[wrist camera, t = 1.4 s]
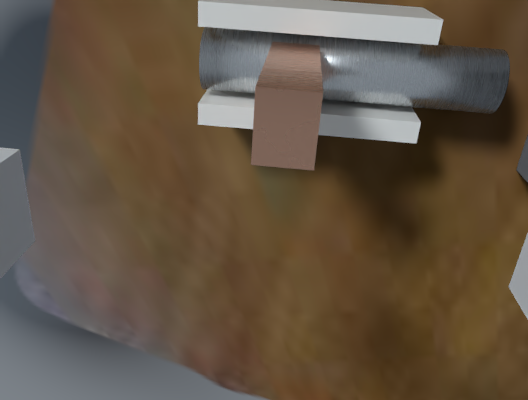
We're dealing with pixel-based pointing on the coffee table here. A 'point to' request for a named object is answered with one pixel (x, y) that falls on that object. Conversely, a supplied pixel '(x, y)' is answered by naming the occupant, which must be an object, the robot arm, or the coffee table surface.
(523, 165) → the socket block
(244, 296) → the coffee table surface
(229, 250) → the coffee table surface
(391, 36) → the white channel cradle
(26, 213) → the robot arm
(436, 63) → the silver peg with handle
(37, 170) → the coffee table surface
